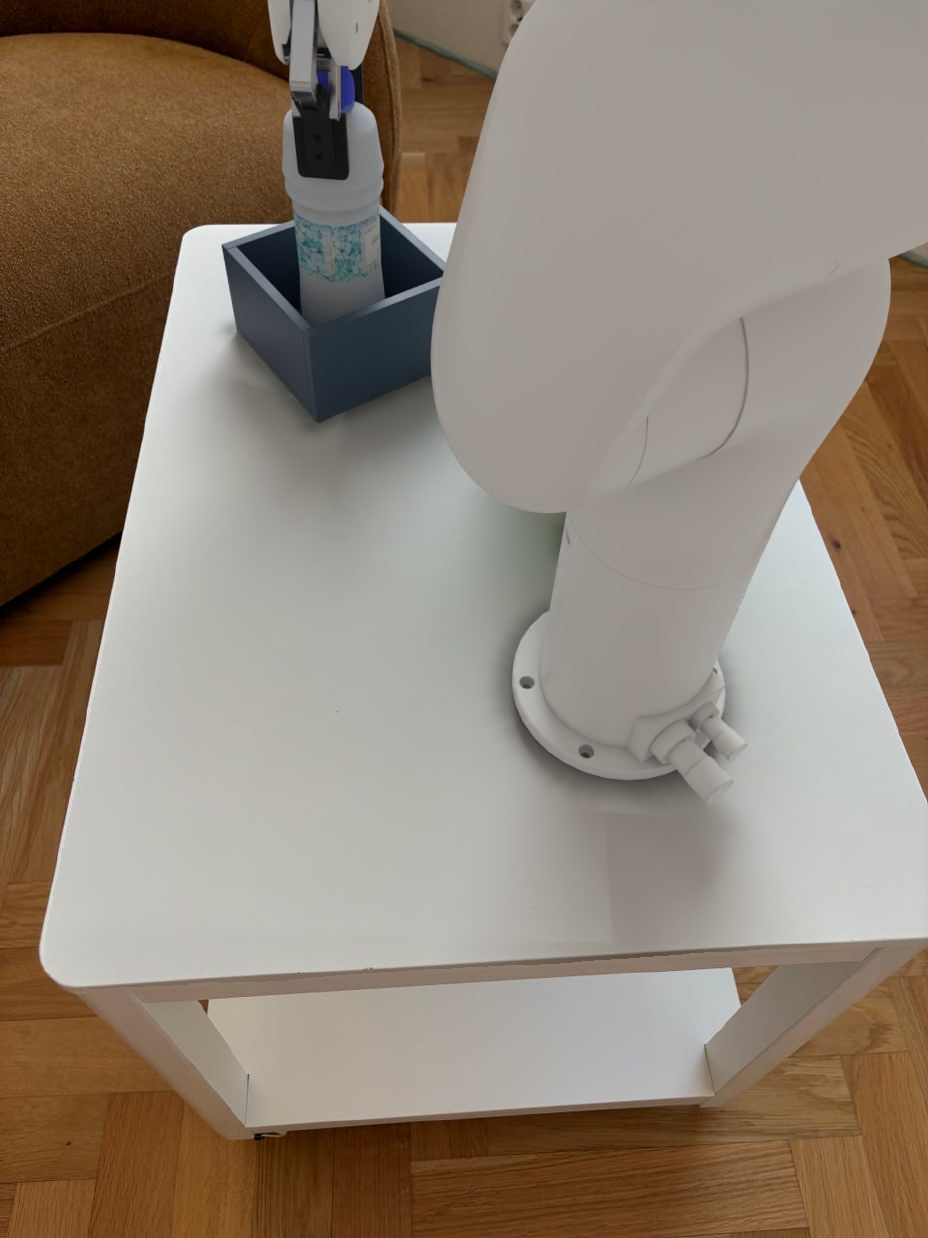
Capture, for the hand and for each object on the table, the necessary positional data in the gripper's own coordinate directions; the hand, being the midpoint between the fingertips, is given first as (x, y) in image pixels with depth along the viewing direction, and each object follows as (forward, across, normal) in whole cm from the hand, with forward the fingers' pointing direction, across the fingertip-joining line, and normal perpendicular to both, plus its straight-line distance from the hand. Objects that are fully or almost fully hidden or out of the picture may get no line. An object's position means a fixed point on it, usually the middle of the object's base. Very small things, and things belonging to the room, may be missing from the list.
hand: (332, 145), depth 65 cm
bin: (+16, 0, 0) cm, 16 cm away
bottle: (+15, 0, 0) cm, 15 cm away
